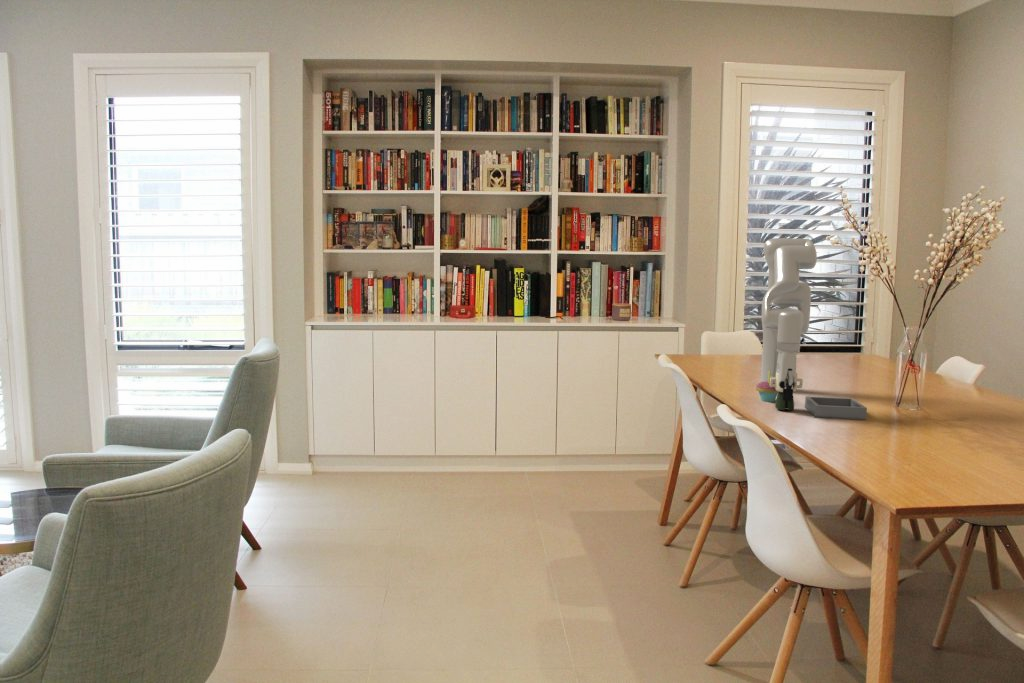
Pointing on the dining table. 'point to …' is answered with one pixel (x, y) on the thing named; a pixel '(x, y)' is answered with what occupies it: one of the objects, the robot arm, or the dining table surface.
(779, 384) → the character mug
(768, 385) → the cupcake
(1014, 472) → the dining table surface
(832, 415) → the grey tray
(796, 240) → the robot arm
